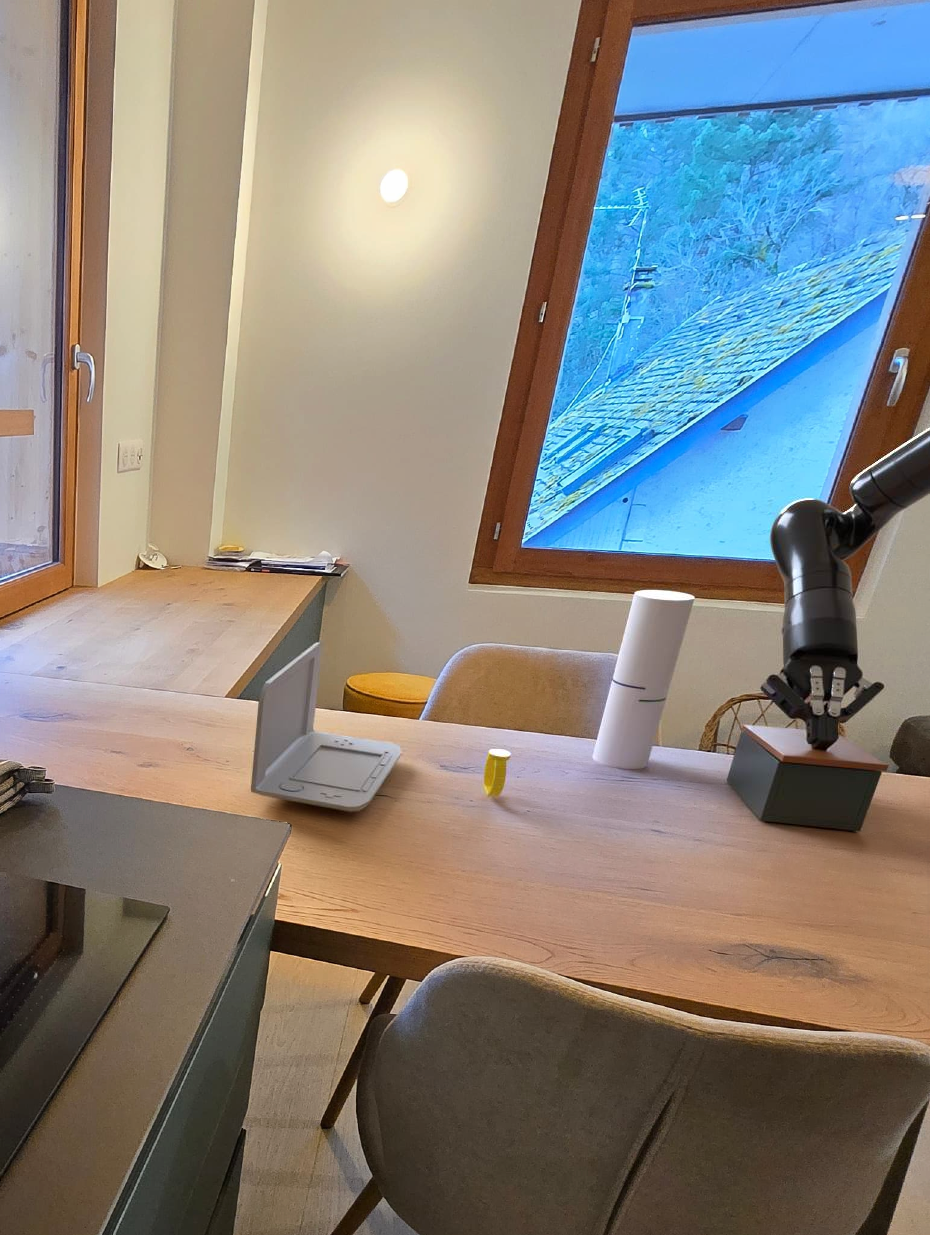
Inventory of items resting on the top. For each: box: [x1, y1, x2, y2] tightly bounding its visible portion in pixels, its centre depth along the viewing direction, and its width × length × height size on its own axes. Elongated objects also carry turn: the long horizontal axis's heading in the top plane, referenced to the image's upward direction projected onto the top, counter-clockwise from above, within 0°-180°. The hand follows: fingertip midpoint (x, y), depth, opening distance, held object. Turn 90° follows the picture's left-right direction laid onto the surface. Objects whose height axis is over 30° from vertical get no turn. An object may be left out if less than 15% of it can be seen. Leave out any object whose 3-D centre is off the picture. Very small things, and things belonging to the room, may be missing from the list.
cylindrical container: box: [592, 589, 695, 770], centre depth 138 cm, size 7×7×25 cm
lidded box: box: [726, 730, 883, 832], centre depth 126 cm, size 16×11×8 cm
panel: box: [741, 724, 889, 772], centre depth 124 cm, size 16×11×1 cm, turn 160°
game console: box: [250, 641, 403, 813], centre depth 134 cm, size 28×15×15 cm, turn 149°
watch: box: [483, 748, 512, 797], centre depth 130 cm, size 6×3×6 cm, turn 167°
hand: (822, 746), depth 120 cm, fingers closed
